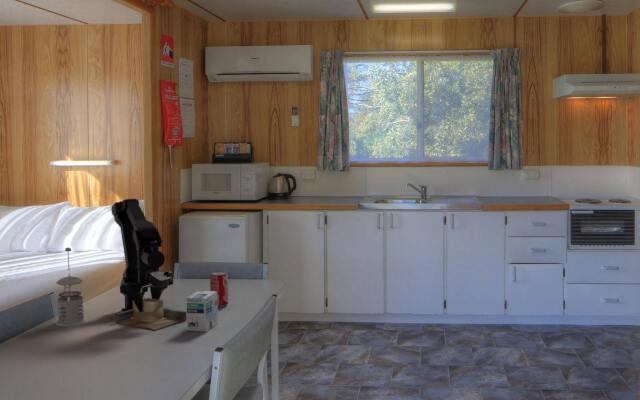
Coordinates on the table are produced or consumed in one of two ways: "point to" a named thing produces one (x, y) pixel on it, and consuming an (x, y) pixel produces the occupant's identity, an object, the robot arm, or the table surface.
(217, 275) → the soda can
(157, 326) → the tray
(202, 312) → the light bulb box
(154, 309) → the maple block
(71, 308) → the french press
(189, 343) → the table surface
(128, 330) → the table surface
